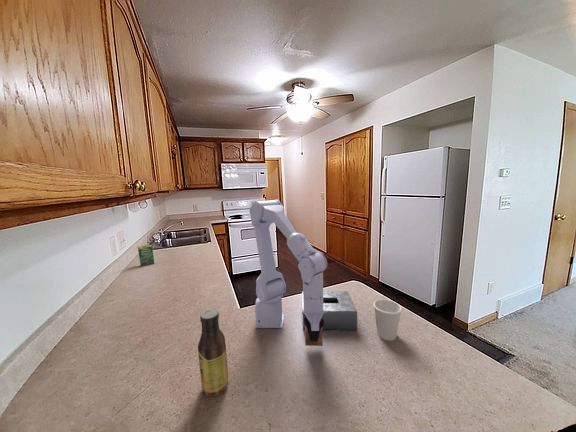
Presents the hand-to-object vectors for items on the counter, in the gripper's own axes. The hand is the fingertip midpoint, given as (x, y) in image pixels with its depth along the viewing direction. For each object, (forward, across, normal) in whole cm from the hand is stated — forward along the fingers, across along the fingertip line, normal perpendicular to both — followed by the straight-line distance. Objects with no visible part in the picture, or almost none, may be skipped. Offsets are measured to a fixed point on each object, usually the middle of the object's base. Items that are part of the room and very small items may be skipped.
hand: (313, 337), depth 65 cm
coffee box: (+5, +77, +105) cm, 130 cm away
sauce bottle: (+4, -13, +25) cm, 28 cm away
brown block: (+2, 0, 0) cm, 2 cm away
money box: (+4, +16, -6) cm, 17 cm away
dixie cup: (+4, +7, -24) cm, 25 cm away
